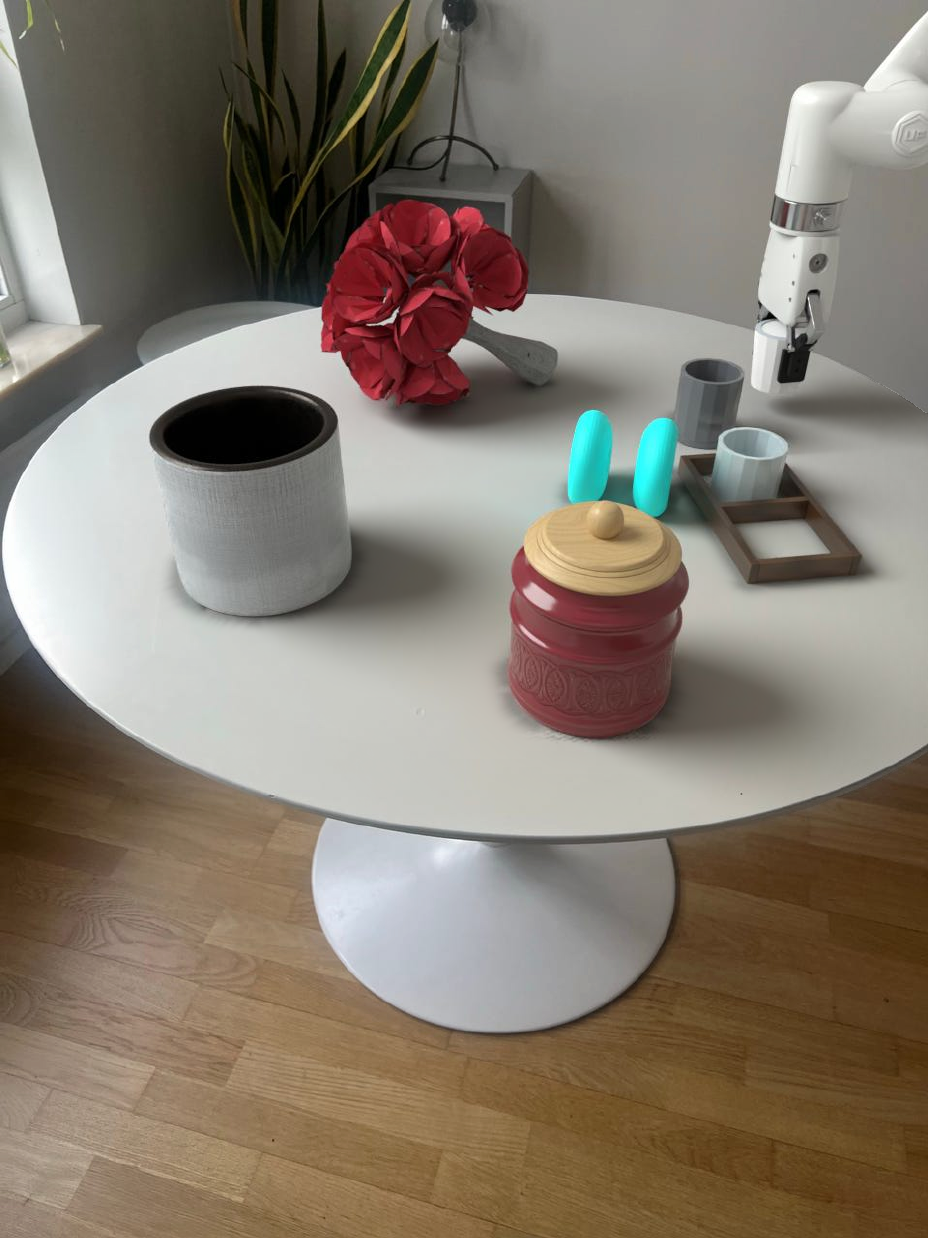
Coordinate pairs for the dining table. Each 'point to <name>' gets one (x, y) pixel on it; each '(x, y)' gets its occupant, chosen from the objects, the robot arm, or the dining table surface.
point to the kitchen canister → (595, 618)
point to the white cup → (770, 357)
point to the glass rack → (794, 507)
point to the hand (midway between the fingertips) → (777, 367)
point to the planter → (254, 498)
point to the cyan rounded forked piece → (595, 459)
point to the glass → (748, 465)
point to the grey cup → (707, 401)
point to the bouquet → (426, 303)
